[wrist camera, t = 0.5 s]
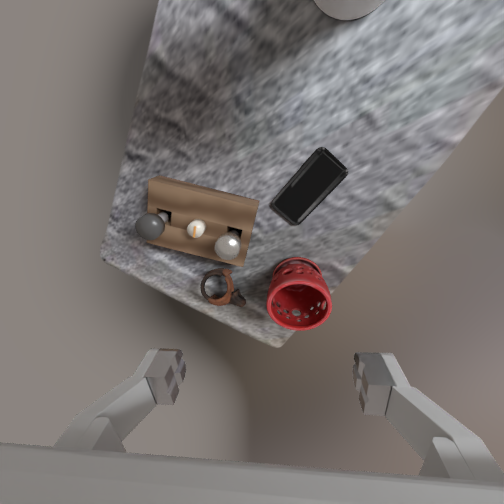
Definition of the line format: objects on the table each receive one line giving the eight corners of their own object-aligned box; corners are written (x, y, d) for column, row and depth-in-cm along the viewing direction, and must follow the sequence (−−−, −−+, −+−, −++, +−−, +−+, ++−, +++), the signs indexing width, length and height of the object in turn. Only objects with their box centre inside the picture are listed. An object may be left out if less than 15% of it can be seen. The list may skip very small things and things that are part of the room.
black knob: (153, 203, 49) (135, 213, 43) (175, 209, 49) (160, 220, 43) (152, 224, 51) (135, 236, 45) (173, 229, 51) (159, 242, 45)
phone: (350, 172, 47) (296, 227, 53) (349, 171, 48) (296, 225, 54) (321, 144, 45) (269, 204, 51) (320, 143, 46) (269, 202, 52)
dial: (192, 216, 50) (187, 221, 47) (207, 220, 50) (203, 225, 47) (190, 231, 51) (185, 235, 49) (205, 234, 51) (201, 239, 49)
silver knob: (224, 222, 49) (216, 234, 43) (246, 227, 49) (241, 240, 43) (221, 241, 51) (212, 256, 45) (242, 247, 51) (236, 262, 45)
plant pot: (267, 253, 57) (264, 280, 46) (324, 252, 55) (335, 280, 45) (269, 298, 63) (267, 332, 52) (321, 298, 61) (330, 333, 50)
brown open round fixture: (203, 293, 65) (190, 296, 57) (218, 262, 65) (207, 260, 57) (242, 314, 63) (235, 320, 55) (258, 281, 63) (252, 283, 55)
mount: (159, 175, 52) (148, 179, 47) (259, 200, 52) (257, 207, 47) (156, 234, 58) (146, 242, 53) (245, 256, 58) (242, 266, 54)
